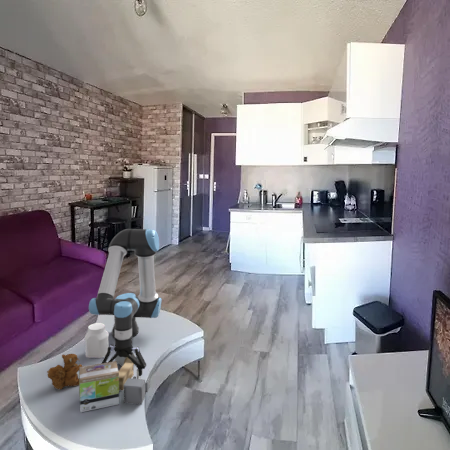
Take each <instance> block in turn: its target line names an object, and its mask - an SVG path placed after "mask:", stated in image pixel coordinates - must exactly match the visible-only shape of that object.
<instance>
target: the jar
mask: <svg viewBox="0 0 450 450" xmlns="http://www.w3.org/2000/svg"><path fill="white" fill-rule="evenodd" d="M84 343H85V345H84V347H85V352H84V353H85V354H84V355H85V358H87V359H95V358H96V359H102V358H104V357H105V355H106V354H107V351H108V347H109V346H110V345H109V343H110V342H109V332H108V331H107V330H106V324H104V323H102V322H95V323H91V324H90V325H88V327H87V332H86V334H85V335H84Z"/></svg>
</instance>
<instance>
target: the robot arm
mask: <svg viewBox="0 0 450 450" xmlns="http://www.w3.org/2000/svg"><path fill="white" fill-rule="evenodd" d="M107 248H108V249H107V251H108V256H107V261H106V262H105V263H106V264H105V267H104V270H103V274H102V277H101V281H100V284H99V288H98V292H97V295H96V297H92V298H91V299H90V300H89V304H88V311H89V313H90V314H92V315H97V316H106V315H107V316H114V320H113V321H114V324H113V325H112V326H113V327H112V330H111V335H112V337H113V338H114V345H113V344H110V345H109V347H108V351H107V354H106V355H105V357H103V359H102V362H101V363H107V362H113V361H115V358H116V357H117V356H120V357H125V358H126V357H128V358H129V359H130V360H131V361H132V362H133V363H134V365H133V366H135V367H136V368H137V369H136V379H141V376H142V375H143V370H145V368H146V367H147V363H146V361H145V359H144V356H143V355H142V352H141V349H140V346H136V347H133V338H134V337H136V336H137V335H138V334H139V329H140V328H139V326H138V322H137V320H136V318H141V319H142V318H143V319H145V318H146V319H156V318H159V315H160V313H161V307H162V302H163V301H162V297H159V293H158V292H157V291H156V278H155V275H156V273H155V257H154V256H156V255H157V252H159V250H160V238H159V234H158V232H157V230H155V229H149V228H143V229H142V228H141V229H140V228H126V229H123V230H121V231H119V232H118V233H117V234H115V236H114V237H113V238H112V239H111V241H110V243H109V244H108V247H107ZM128 251H134V256H135V257H137V260H138V261H137V264H138V265H137V266H138V280H139V281H138V282H139V294H138V295H137V296H136V294H135V293H134V292H127V293H122V294H119V295H118V296H116V297H115V292H116V288H117V284H118V280H119V277H120V273H121V270H122V269H121V268H122V265H123V260H124V257H125V256H126V255H127V254H128ZM114 297H115V298H114ZM113 351H114V352H115V354H114V355H112V357H111V358H110V359H109V357H110V355H111V353H112V352H113ZM134 355H135V356H136V357H137V358H136V357H135V356H134ZM108 359H109V360H108ZM138 360H139V361H138Z"/></svg>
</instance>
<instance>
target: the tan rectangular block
mask: <svg viewBox="0 0 450 450" xmlns="http://www.w3.org/2000/svg"><path fill="white" fill-rule="evenodd" d="M118 371H119V391H124V384H125V382H126V381H127V379H128V378H132V379H133V377H134V376H135V375H134V372H135V371H134V365H133V363H125V364H124V365H123V366H121V367H120V369H118Z"/></svg>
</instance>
